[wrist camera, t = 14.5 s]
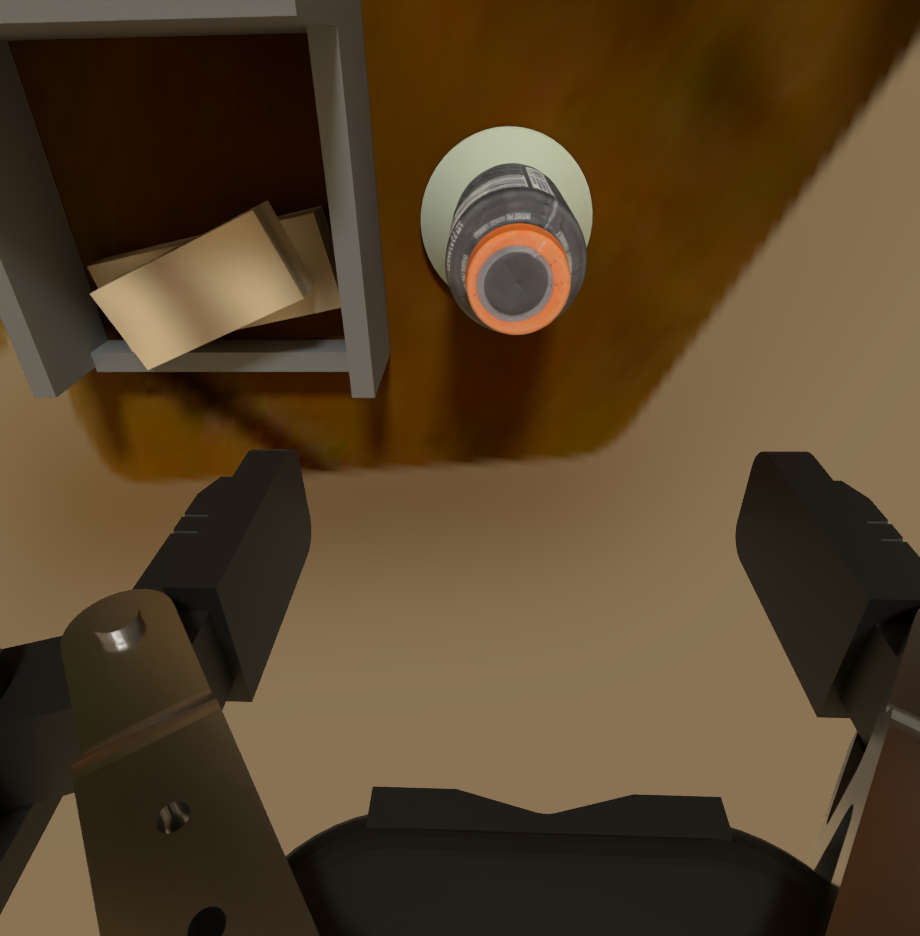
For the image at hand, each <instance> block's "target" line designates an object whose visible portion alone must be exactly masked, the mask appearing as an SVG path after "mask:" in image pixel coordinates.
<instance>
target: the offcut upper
mask: <svg viewBox="0 0 920 936" xmlns="http://www.w3.org/2000/svg"><path fill="white" fill-rule="evenodd" d="M314 284H315V283H314V281H313V279H312V278H311V276H310V274H309V272H308V271H307V269H306V267H305V265H304V263H303V262H302V260H301V258H300V256H299V255H298V253H297V251H296V249H295V247H294V246H293V244H292V242H291V240H290V239H289V237H288V235H287V233H286V232H285V230H284V228H283V226H282V224H281V223H280V221H279V219H278V217H277V216H276V214H275V212H274V210H273V209H272V207H271V205H270V203H269V202H268V200H267V201H265V202H263V203H261V204H260V205H258V206H256V207H254V208H252V209H250V210H248V211H246V212H244V213H242V214H240V215H238V216H236V217H234V218H232V219H230V220H228V221H226V222H225V223H223V224H221V225H219V226H217V227H215V228H213V229H211V230H209V231H207V232H205V233H203V234H201V235H199V236H197V237H195V238H193V239H191V240H189V241H188V242H186V243H184V244H182V245H180V246H178V247H176V248H174V249H172V250H170V251H168V252H166V253H164V254H162V255H160V256H158V257H156V258H154V259H152V260H151V261H149V262H147V263H145V264H143V265H141V266H139V267H137V268H135V269H133V270H131V271H129V272H127V273H125V274H123V275H121V276H119V277H117V278H116V279H114V280H112V281H110V282H109V283H107V284H105V285H103V286H102V287H100V288H98V289H97V290H95V291H93V292H92V293H90V295H91V296H92V298H93V299H94V300H95V302H96V303H97V304H98V306H99V307H100V308H101V310H102V311H103V312H104V314H105V315H106V316H107V317H108V319H109V320H110V321H111V323H112V324H113V325H114V327H115V328H116V329H117V331H118V332H119V333H120V335H121V336H122V337H123V338H124V340H125V341H126V342H127V344H128V345H129V346H130V348H131V349H132V350H133V352H134V353H135V354H136V356H137V357H138V358H139V359H140V361H141V362H142V363H143V365H144V366H145V367H146V369H147V370H150V369H152V368H154V367H156V366H158V365H161V364H163V363H165V362H167V361H169V360H171V359H174V358H176V357H178V356H180V355H182V354H184V353H187V352H189V351H191V350H193V349H195V348H197V347H200V346H202V345H204V344H206V343H208V342H210V341H213V340H215V339H217V338H219V337H221V336H223V335H226V334H228V333H230V332H232V331H234V330H237V329H239V328H241V327H243V326H245V325H247V324H250V323H252V322H254V321H256V320H258V319H260V318H263V317H265V316H267V315H269V314H271V313H273V312H276V311H278V310H280V309H282V308H284V307H286V306H289V305H291V304H293V303H295V302H297V301H299V300H302V299H304V298H305V296H306V295H307V294H308V292H309V291H310V290H311V288H312V287H313V286H314Z"/></svg>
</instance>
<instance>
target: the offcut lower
mask: <svg viewBox="0 0 920 936" xmlns="http://www.w3.org/2000/svg"><path fill="white" fill-rule="evenodd" d="M277 217H278V219H279V221H280V223H281V224H282V226H283V228H284V230H285V232H286V233H287V235H288V237H289V239H290V240H291V242H292V244H293V246H294V247H295V249H296V251H297V253H298V255H299V256H300V258H301V260H302V262H303V263H304V265H305V267H306V269H307V271H308V272H309V274H310V276H311V278H312V279H313V281H314V283H315V284H314V286H313V287H312V288H311V290H310V291H309V292H308V294H307V295H306V296H305V298H304V299H302V300H299V301H297V302H295V303H293V304H291V305H289V306H286V307H284V308H282V309H280V310H278V311H276V312H273V313H271V314H269V315H267V316H265V317H263V318H260V319H258V320H256V321H254V322H252V323H250V324H247V325H245V326H243V327H241V328H239V329H244V328H248V327H253V326H258V325H263V324H267V323H272V322H277V321H281V320H286V319H291V318H295V317H300V316H305V315H310V314H314V313H319V312H324V311H328V310H333V309H338V308H341V303H340V295H339V287H338V279H337V271H336V263H335V254H334V246H333V239H332V236H331V233H330V230H329V226H328V223H327V220H326V217H325V214H324V211H323V208H322V206H319V207H314V208H310V209H306V210H302V211H298V212H293V213H289V214H285V215H281V216H277ZM197 236H199V235H197ZM197 236H193V237H189V238H185V239H180V240H176V241H172V242H168V243H164V244H159V245H155V246H151V247H147V248H143V249H139V250H134V251H130V252H126V253H122V254H118V255H113V256H109V257H105V258H103V259H101V260H99V261H97V262H95V263H93V264H91V265H89V266H87V268H88V270H89V272H90V274H91V276H92V278H93V280H94V281H95V283H96V285H97V287H98V288H100V287H102V286H103V285H105V284H107V283H109V282H110V281H112V280H114V279H116V278H117V277H119V276H121V275H123V274H125V273H127V272H129V271H131V270H133V269H135V268H137V267H139V266H141V265H143V264H145V263H147V262H149V261H151V260H152V259H154V258H156V257H158V256H160V255H162V254H164V253H166V252H168V251H170V250H172V249H174V248H176V247H178V246H180V245H182V244H184V243H186V242H188V241H189V240H191V239H193V238H195V237H197ZM239 329H237V330H239ZM128 346H129V345H128ZM129 348H130V346H129ZM130 350H131V352H133V350H132V349H131V348H130Z"/></svg>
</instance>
